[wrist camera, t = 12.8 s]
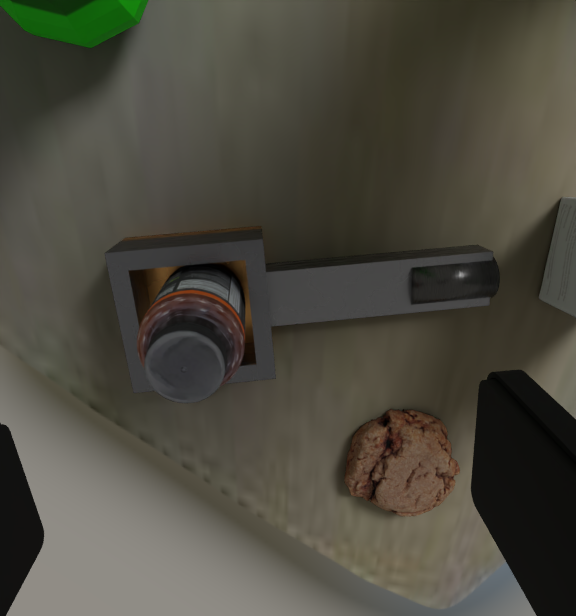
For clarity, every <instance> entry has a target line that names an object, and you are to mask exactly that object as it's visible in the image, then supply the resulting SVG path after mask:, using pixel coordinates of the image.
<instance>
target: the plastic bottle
mask: <svg viewBox="0 0 576 616" xmlns="http://www.w3.org/2000/svg"><path fill="white" fill-rule="evenodd" d="M147 2H148V0H0V6H1V7H2V8H3V9H4V10H5V11H6V12H7V13H8V14H9V15H10V16H11V17H12V18H13V19H14V20H15V21H16V22H17V23H18V24H19V25H20V26H21V27H22V28H23V29H24V30H25V31H27V32H29V33H31V34H33V35H36V36H40V37H44V38H49V39H53V40H58V41H62V42H66V43H71V44H75V45H80V46H84V47H88V48H92V47H94V46H96V45H98V44H100V43H102V42H104V41H106V40H108V39H109V38H111V37H113V36H115V35H117V34H119V33H121V32H123V31H125V30H127V29H129V28H130V27H132V26H134V25H136V24H138V23H139V22H140V19H141V17H142V14H143V12H144V9H145V7H146V5H147Z"/></svg>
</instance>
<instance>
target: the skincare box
mask: <svg viewBox="0 0 576 616" xmlns="http://www.w3.org/2000/svg"><path fill="white" fill-rule="evenodd" d="M539 299H540V300H542V301H544V302H546V303H548V304H550V305H552V306H554V307H556V308H558V309H560V310H562V311H564V312H566V313H568V314H570V315H572V316H574V317H576V198H575V197H562V198H561V202H560V206H559V210H558V215H557V219H556V224H555V228H554V233H553V237H552V242H551V246H550V250H549V255H548V259H547V263H546V268H545V273H544V278H543V283H542V287H541V290H540V294H539Z"/></svg>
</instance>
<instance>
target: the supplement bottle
mask: <svg viewBox="0 0 576 616" xmlns="http://www.w3.org/2000/svg"><path fill="white" fill-rule="evenodd" d="M244 350H245V297H244V292H243V289H242V286H241V285H240V283H239V281H238V280H237V278H236V277H235V276H234V275H233V274H232V273H231V272H230V271H229V270H227V269H226V268H224V267H222V266H220V265H217V264H214V263H207V264H196V265H185V266H183V267H180V268H179V269H177V270H176V271H175V272H174V273H173V274H172V275H171V276H170V277H169V278H168V279H167V280H166V282H165V283H164V285H163V287H162V288H161V290H160V291H159V293H158V295H157V296H156V298H155V299H154V301H153V303H152V304H151V306H150V308H149V309H148V311H147V313H146V314H145V316H144V318H143V320H142V322H141V324H140V327H139V331H138V335H137V351H138V356H139V359H140V361H141V364H142V366H143V367H144V370H145V375H146V378H147V380H148V382H149V384H150V385H151V387H152V388H153V389H154V390H155V391H156V392H157V393H158V394H159V395H161V396H162V397H164V398H166V399H168V400H171V401H173V402H178V403H195V402H198V401H201V400H203V399H206V398H207V397H209V396H210V395H212V394H213V393H214V392H215V391H216V390H217V389H218V388H219V387H220V386H222V385H224V384H225V383H226V382H228V381H229V380H230V379H231V378H232V377H233V375H234V374H235V373H236V372H237V370H238V368H239V366H240V364H241V362H242V359H243V355H244Z"/></svg>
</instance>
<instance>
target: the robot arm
mask: <svg viewBox="0 0 576 616" xmlns="http://www.w3.org/2000/svg"><path fill="white" fill-rule="evenodd" d="M471 493H472V498H473V502H474V505H475V507H476V509H477V510H478V512H479V514H480V516H481V518H482V519H483V521H484V523H485V525H486V526H487V528H488V530H489V532H490V534H491V535H492V537H493V539H494V541H495V542H496V544H497V546H498V548H499V550H500V551H501V553H502V555H503V557H504V558H505V560H506V562H507V564H508V565H509V567H510V569H511V571H512V572H513V574H514V576H515V578H516V580H517V582H518V583H519V585H520V587H521V589H522V590H523V592H524V594H525V596H526V598H527V599H528V601H529V603H530V605H531V606H532V608H533V610H534V612H535V613H536V615H537V616H576V419H575V418H574V417H573V416H572V415H570V414H569V413H568V412H567V411H566V410H565V409H564V408H563V407H562V406H561V405H560V404H559V403H557V402H556V401H555V400H554V399H553V398H552V397H551V396H550V395H549V394H548V393H547V392H546V391H545V390H543V389H542V388H541V387H540V386H539V385H538V384H537V383H536V382H535V381H534V380H533V379H532V378H531V377H529V376H528V375H527V374H526V373H525V372H524V371H522V370H510V371H499V372H491V373H490V374H489V375H488V377H487V380H482V381H481V382H480V384H479V393H478V405H477V418H476V430H475V443H474V456H473V468H472V481H471ZM43 541H44V530H43V526H42V523H41V520H40V517H39V514H38V511H37V508H36V505H35V502H34V499H33V497H32V494H31V491H30V488H29V485H28V482H27V479H26V476H25V473H24V470H23V467H22V464H21V461H20V458H19V456H18V453H17V450H16V447H15V444H14V441H13V438H12V435H11V432H10V430H9V428H8V427H7V426H6V425H3V424H2V425H1V423H0V616H6V614H7V612H8V611H9V609H10V607H11V605H12V603H13V601H14V599H15V597H16V595H17V593H18V592H19V590H20V588H21V586H22V584H23V582H24V580H25V578H26V577H27V575H28V573H29V571H30V569H31V567H32V565H33V563H34V562H35V560H36V558H37V556H38V554H39V552H40V550H41V548H42V545H43Z"/></svg>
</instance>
